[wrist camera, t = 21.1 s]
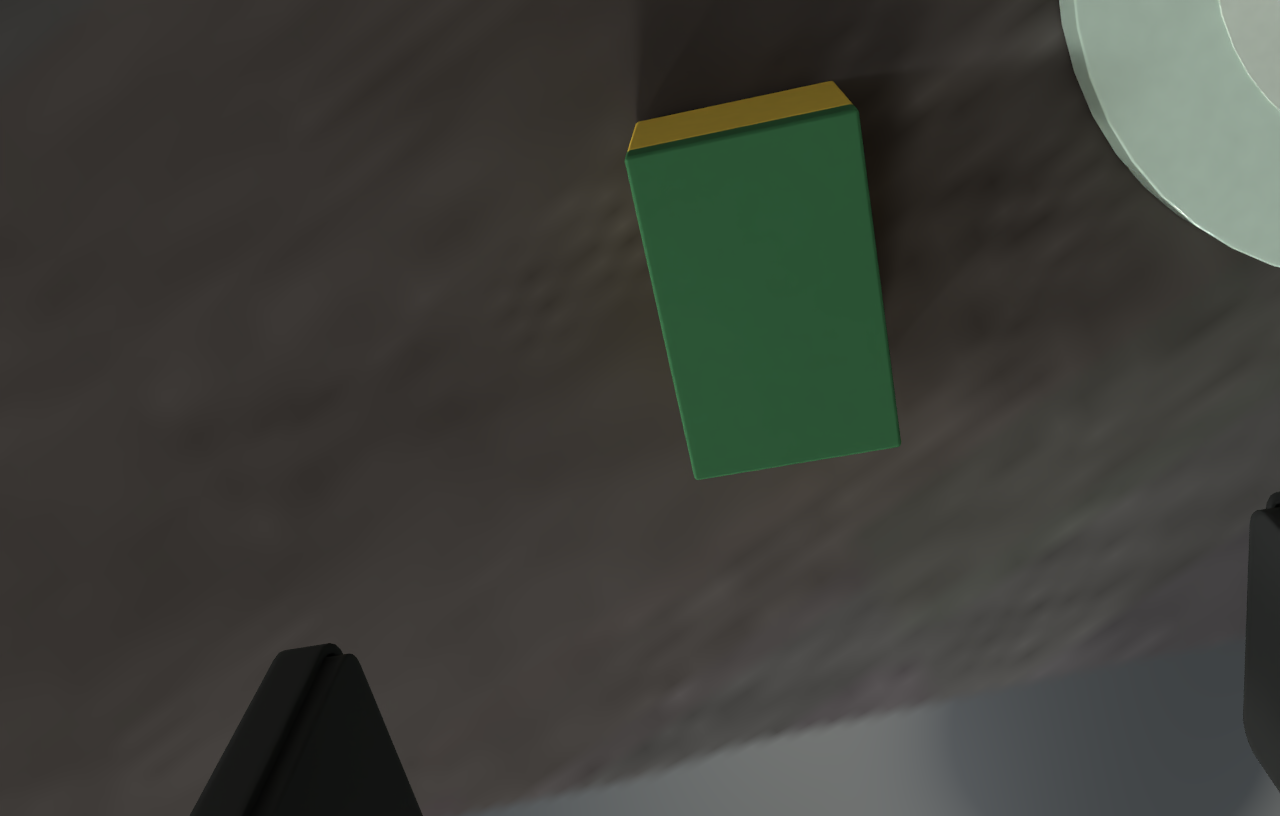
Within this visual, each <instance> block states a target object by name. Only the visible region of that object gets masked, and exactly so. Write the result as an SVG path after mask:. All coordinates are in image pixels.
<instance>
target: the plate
mask: <svg viewBox="0 0 1280 816" xmlns="http://www.w3.org/2000/svg"><path fill="white" fill-rule="evenodd" d="M1059 4H1060V13H1061V21H1062V27H1063V31H1064V35H1065V38H1066V42H1067V46H1068V50H1069V54H1070V58H1071V62H1072V66H1073V69H1074V73H1075V75H1076V78H1077V80H1078V82H1079V85H1080V87H1081V89H1082V92H1083V94H1084V97H1085V99H1086V101H1087V104H1088V106H1089V109H1090V111H1091V113H1092V115H1093V117H1094V119H1095V120H1096V122H1097V124H1098V125H1099V127H1100V129H1101V130H1102V132H1103V133H1104V135H1105V137H1106V138H1107V140H1108V142H1109V143H1110V145H1111V147H1112V148H1113V150H1114V151H1115V153H1116V154H1117V155H1118V157H1119V158H1120V159H1121V160H1122V161H1123V163H1124V164H1125V165H1126V166H1127V167H1128V168H1129V170H1130V171H1131V172H1132V173H1133V174H1134V176H1135V177H1136V178H1137V179H1138V180H1139V181H1140V183H1141V184H1142V185H1143V186H1144V187H1145V188H1146V189H1147V190H1149V191H1150V192H1151V193H1152V194H1153V195H1154V196H1156V197H1157V198H1158V199H1159V200H1160V201H1161V202H1163V203H1164V204H1165V205H1166V206H1167V207H1168V208H1170V209H1171V210H1172V211H1173V212H1174V213H1175V214H1177V215H1178V216H1180V217H1182V218H1183V219H1185V220H1186V221H1188V222H1190V223H1191V224H1193V225H1194V226H1196V227H1198V228H1199V229H1201V230H1203V231H1204V232H1206V233H1207V234H1209V235H1211V236H1212V237H1214V238H1216V239H1217V240H1219V241H1220V242H1222V243H1224V244H1225V245H1227V246H1229V247H1230V248H1232V249H1235V250H1237V251H1239V252H1242V253H1244V254H1246V255H1249V256H1251V257H1253V258H1256V259H1258V260H1260V261H1263V262H1265V263H1267V264H1270V265H1272V266H1275V267H1279V268H1280V0H1059Z"/></svg>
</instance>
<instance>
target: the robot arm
mask: <svg viewBox="0 0 1280 816" xmlns="http://www.w3.org/2000/svg"><path fill="white" fill-rule="evenodd" d="M1243 721H1244V728H1245V733H1246V736H1247V739H1248V742H1249V744H1250V747H1251V749H1252V751H1253V753H1254V755H1255V756H1256V758H1257V759H1258V761H1259V762H1260V764H1261V765H1262V767H1263V768H1264V770H1265V771H1266V773H1267V774H1268V776H1269V777H1270V779H1271V780H1272V781H1273V783H1274V785H1275V786H1276V787H1277V789H1278V790H1279V792H1280V492H1276V493H1274V494H1272V495H1271V496H1270V498H1269V500H1268V502H1267V505H1266V509H1263V510H1257V511H1255V512H1254V513H1253V514H1252V516H1251V520H1250V532H1249V561H1248V590H1247V619H1246V650H1245V677H1244V706H1243ZM190 816H423V815H422V813H421V810H420V808H419V806H418V803H417V801H416V798H415V796H414V793H413V791H412V789H411V786H410V784H409V781H408V779H407V777H406V774H405V772H404V769H403V767H402V764H401V762H400V760H399V757H398V755H397V752H396V750H395V747H394V745H393V743H392V740H391V738H390V735H389V733H388V730H387V728H386V726H385V723H384V721H383V718H382V716H381V713H380V711H379V709H378V706H377V704H376V701H375V699H374V697H373V694H372V692H371V689H370V687H369V684H368V682H367V680H366V677H365V675H364V672H363V670H362V667H361V665H360V663H359V661H358V659H357V658H356V657H355V656H354V655H353V654H344V655H343V653H342V651H341V650H340V649H339V648H338V647H337V646H336V645H335V644H331V643H328V644H322V645H316V646H309V647H303V648H297V649H291V650H285V651H282V652H280V653H279V654H278V655H277V656H276V658H275V659H274V660H273V662H272V664H271V666H270V668H269V670H268V672H267V673H266V675H265V677H264V679H263V681H262V683H261V685H260V686H259V688H258V690H257V692H256V694H255V696H254V698H253V699H252V701H251V703H250V705H249V707H248V709H247V710H246V712H245V714H244V716H243V718H242V720H241V722H240V723H239V725H238V727H237V729H236V731H235V733H234V735H233V736H232V738H231V740H230V742H229V744H228V746H227V748H226V749H225V751H224V753H223V755H222V757H221V759H220V761H219V762H218V764H217V766H216V768H215V770H214V772H213V773H212V775H211V777H210V779H209V781H208V783H207V785H206V786H205V788H204V790H203V792H202V794H201V796H200V798H199V799H198V801H197V803H196V805H195V807H194V809H193V811H192V812H191V814H190Z"/></svg>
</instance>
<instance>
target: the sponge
mask: <svg viewBox="0 0 1280 816" xmlns="http://www.w3.org/2000/svg"><path fill="white" fill-rule="evenodd" d="M625 164H626V169H627V173H628V178H629V182H630V187H631V191H632V196H633V200H634V205H635V210H636V214H637V219H638V223H639V228H640V232H641V237H642V241H643V246H644V250H645V255H646V260H647V264H648V269H649V273H650V278H651V282H652V287H653V291H654V296H655V301H656V305H657V310H658V314H659V319H660V323H661V328H662V332H663V337H664V342H665V346H666V351H667V355H668V360H669V364H670V369H671V373H672V378H673V382H674V387H675V392H676V396H677V401H678V405H679V410H680V414H681V419H682V423H683V428H684V433H685V437H686V442H687V446H688V451H689V455H690V460H691V464H692V469H693V473H694V477H695V479H696V480H700V479H706V478H712V477H719V476H725V475H731V474H737V473H743V472H749V471H755V470H761V469H767V468H773V467H779V466H785V465H791V464H797V463H804V462H810V461H816V460H822V459H828V458H834V457H840V456H846V455H852V454H858V453H864V452H870V451H876V450H882V449H888V448H895V447H899V446H900V444H901V439H900V431H899V423H898V415H897V407H896V399H895V392H894V384H893V376H892V368H891V360H890V352H889V344H888V337H887V329H886V321H885V313H884V305H883V297H882V290H881V282H880V274H879V266H878V258H877V250H876V242H875V235H874V227H873V219H872V211H871V203H870V195H869V187H868V180H867V172H866V164H865V156H864V148H863V140H862V132H861V125H860V117H859V111H858V110H857V108H856V107H855V106H854V105H853V104H852V103H851V102H850V100H849V99H848V98H847V97H846V96H845V95H844V93H843V92H842V91H841V90H840V89H839V88H838V87H837V85H836V84H835V83H834V82H833V81H828V82H823V83H818V84H814V85H809V86H804V87H800V88H795V89H790V90H786V91H781V92H776V93H771V94H767V95H762V96H757V97H753V98H748V99H743V100H739V101H734V102H729V103H724V104H720V105H715V106H710V107H706V108H701V109H696V110H692V111H687V112H682V113H678V114H673V115H668V116H663V117H659V118H654V119H649V120H645V121H640V122H638V123H636V126H635V129H634V132H633V135H632V138H631V142H630V145H629V148H628V151H627V154H626V157H625Z"/></svg>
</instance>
